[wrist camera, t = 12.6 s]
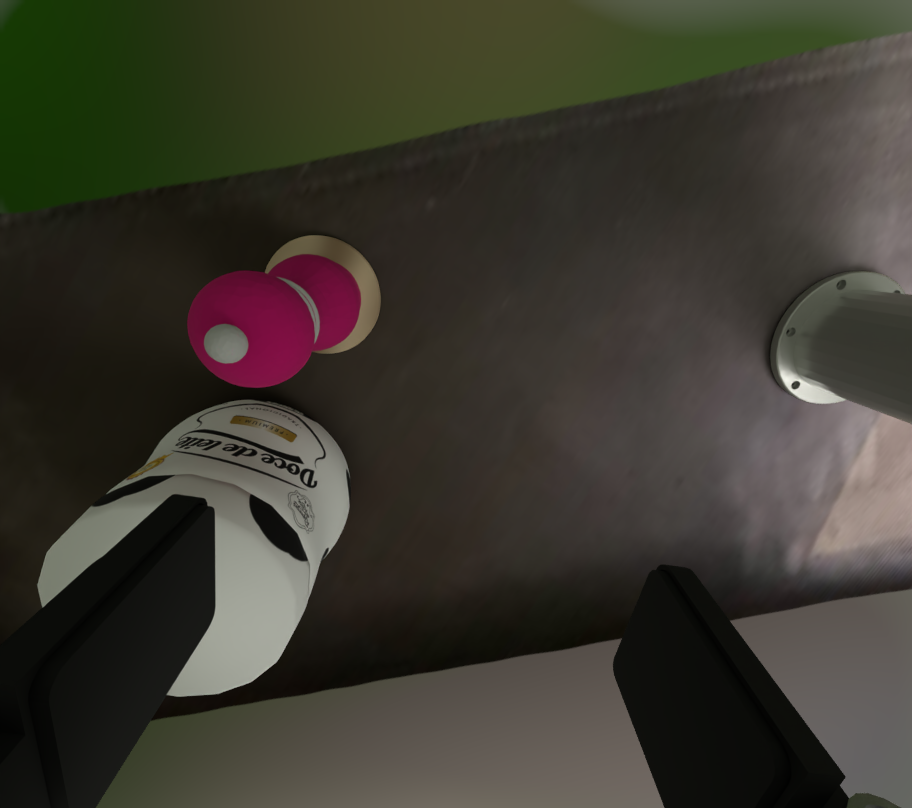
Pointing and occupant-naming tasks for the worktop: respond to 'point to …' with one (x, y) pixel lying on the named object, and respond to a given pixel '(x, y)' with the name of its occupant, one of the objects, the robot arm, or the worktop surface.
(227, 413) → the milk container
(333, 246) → the plate
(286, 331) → the pepper mill
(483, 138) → the worktop surface
